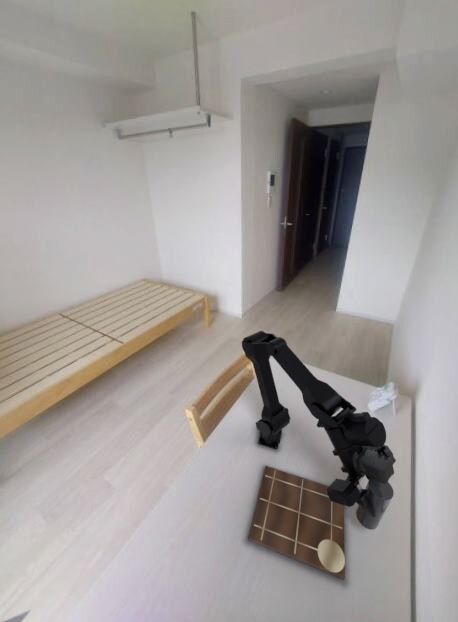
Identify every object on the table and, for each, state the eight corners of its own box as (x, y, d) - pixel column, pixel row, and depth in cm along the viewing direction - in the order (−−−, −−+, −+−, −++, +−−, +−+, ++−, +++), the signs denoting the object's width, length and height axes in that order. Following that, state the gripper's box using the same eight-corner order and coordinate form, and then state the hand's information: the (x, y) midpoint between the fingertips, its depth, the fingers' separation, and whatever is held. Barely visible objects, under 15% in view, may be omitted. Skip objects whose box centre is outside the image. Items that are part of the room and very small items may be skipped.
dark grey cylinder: (356, 525, 64) (369, 495, 58) (355, 503, 68) (367, 472, 62) (379, 533, 62) (395, 503, 56) (377, 510, 67) (391, 480, 60)
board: (248, 540, 66) (248, 537, 66) (265, 468, 82) (265, 465, 81) (343, 580, 60) (345, 577, 59) (342, 493, 76) (343, 490, 75)
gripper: (350, 471, 52) (393, 554, 49) (395, 421, 62) (433, 488, 59) (311, 464, 61) (345, 534, 59) (355, 422, 71) (386, 480, 69)
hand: (379, 508), depth 61 cm, fingers closed on dark grey cylinder, 5 cm apart
